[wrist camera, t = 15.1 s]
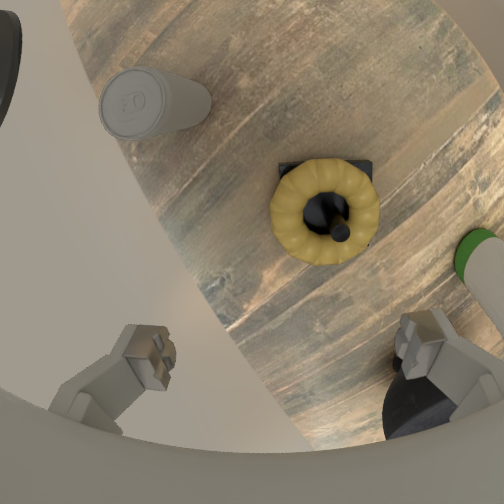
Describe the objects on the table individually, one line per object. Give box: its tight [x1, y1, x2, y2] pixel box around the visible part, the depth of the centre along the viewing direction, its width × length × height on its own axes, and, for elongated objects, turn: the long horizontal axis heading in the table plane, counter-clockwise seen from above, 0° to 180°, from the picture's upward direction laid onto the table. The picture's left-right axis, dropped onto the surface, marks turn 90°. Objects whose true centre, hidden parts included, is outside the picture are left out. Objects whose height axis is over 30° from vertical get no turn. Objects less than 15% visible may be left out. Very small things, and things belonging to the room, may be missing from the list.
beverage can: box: [99, 66, 212, 141], centre depth 18 cm, size 5×5×12 cm
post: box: [279, 160, 372, 251], centre depth 24 cm, size 9×9×7 cm
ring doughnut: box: [270, 158, 380, 266], centre depth 25 cm, size 10×10×3 cm
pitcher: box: [382, 355, 458, 440], centre depth 23 cm, size 17×21×30 cm
